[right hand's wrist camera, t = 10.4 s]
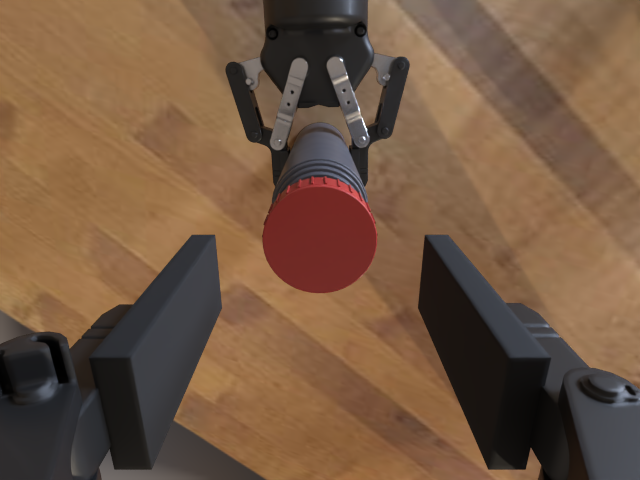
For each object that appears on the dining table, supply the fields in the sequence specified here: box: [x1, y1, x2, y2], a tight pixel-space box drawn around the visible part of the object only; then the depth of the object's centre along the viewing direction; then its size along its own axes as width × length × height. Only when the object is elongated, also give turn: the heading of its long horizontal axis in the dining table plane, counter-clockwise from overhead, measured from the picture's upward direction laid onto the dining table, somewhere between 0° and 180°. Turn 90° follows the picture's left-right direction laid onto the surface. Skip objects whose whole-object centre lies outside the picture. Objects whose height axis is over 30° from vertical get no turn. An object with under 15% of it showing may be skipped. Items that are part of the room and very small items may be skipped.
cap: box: [262, 176, 377, 293], centre depth 18 cm, size 5×5×2 cm
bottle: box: [272, 123, 368, 204], centre depth 29 cm, size 5×5×25 cm
